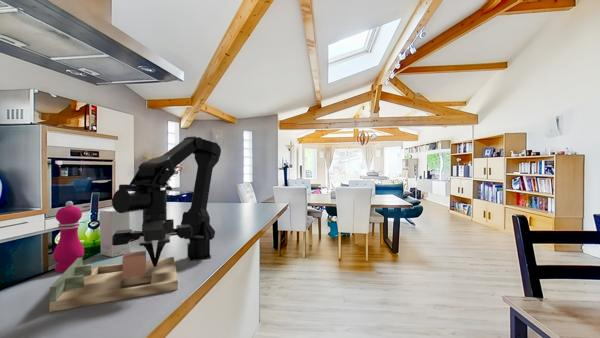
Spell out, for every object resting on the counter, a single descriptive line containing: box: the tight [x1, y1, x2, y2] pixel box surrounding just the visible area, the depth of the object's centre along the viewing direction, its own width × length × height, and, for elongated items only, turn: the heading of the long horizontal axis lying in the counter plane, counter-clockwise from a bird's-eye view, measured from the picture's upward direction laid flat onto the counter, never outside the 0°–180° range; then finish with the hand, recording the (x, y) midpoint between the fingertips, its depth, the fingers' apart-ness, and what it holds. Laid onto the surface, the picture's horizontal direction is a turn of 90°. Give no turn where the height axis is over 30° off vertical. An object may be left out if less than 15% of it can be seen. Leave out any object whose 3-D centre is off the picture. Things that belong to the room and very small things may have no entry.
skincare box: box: [99, 208, 131, 258], centre depth 98 cm, size 8×7×16 cm
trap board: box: [49, 256, 179, 313], centre depth 72 cm, size 24×22×5 cm
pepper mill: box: [52, 200, 85, 273], centre depth 83 cm, size 7×7×20 cm
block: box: [122, 250, 147, 278], centre depth 73 cm, size 5×5×5 cm
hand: (155, 266), depth 75 cm, fingers closed
